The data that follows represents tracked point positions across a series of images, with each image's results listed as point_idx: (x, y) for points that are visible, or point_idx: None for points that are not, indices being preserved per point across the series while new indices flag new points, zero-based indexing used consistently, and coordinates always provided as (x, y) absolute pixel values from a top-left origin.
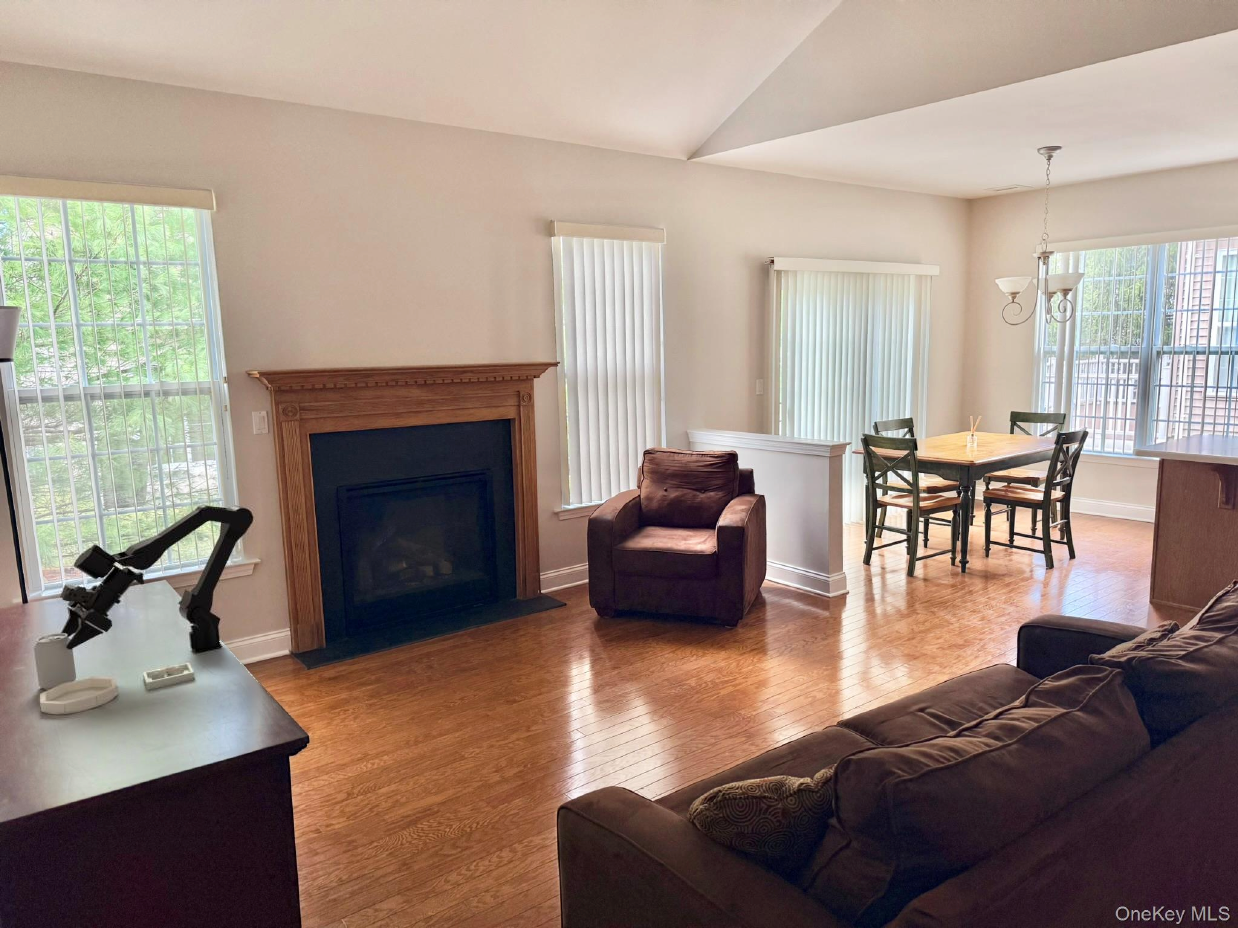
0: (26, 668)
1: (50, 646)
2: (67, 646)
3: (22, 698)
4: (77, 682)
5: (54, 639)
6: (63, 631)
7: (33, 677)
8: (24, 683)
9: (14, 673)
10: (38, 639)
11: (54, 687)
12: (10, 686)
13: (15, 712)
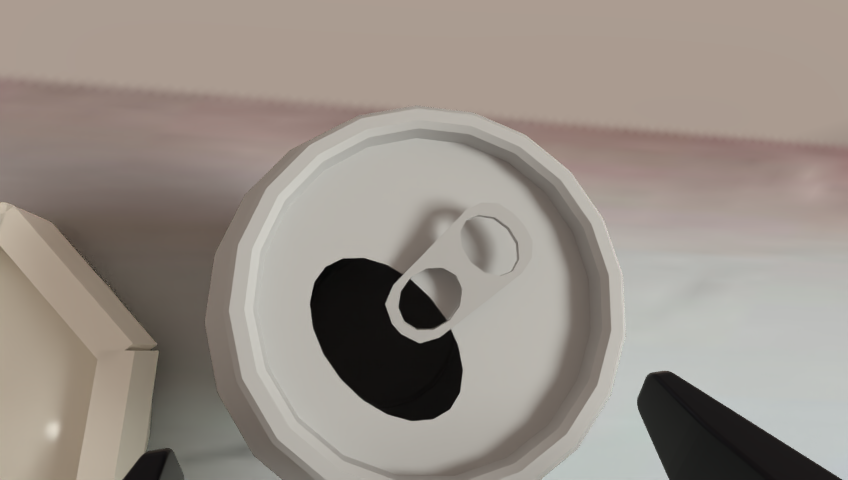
0: (785, 204)
1: (229, 264)
2: (132, 469)
3: (284, 150)
4: (86, 445)
5: (392, 321)
6: (726, 452)
7: (615, 222)
8: None
9: (737, 152)
10: (479, 137)
11: (84, 293)
12: (539, 121)
13: (54, 103)
